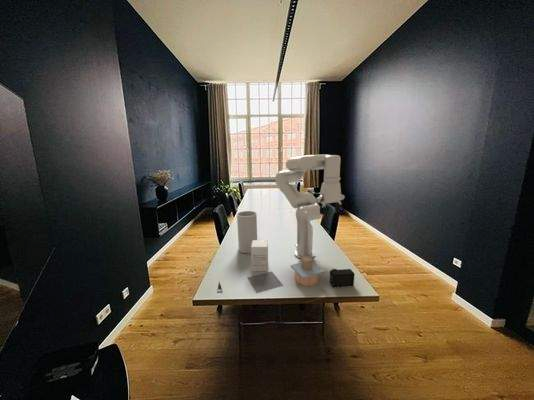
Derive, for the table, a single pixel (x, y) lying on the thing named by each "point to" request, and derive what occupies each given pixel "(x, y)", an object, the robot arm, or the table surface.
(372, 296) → the table surface
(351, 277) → the digital camera
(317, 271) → the lid
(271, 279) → the mat
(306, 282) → the bowl
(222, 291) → the smartphone
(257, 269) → the supplement box
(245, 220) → the cylinder vase
